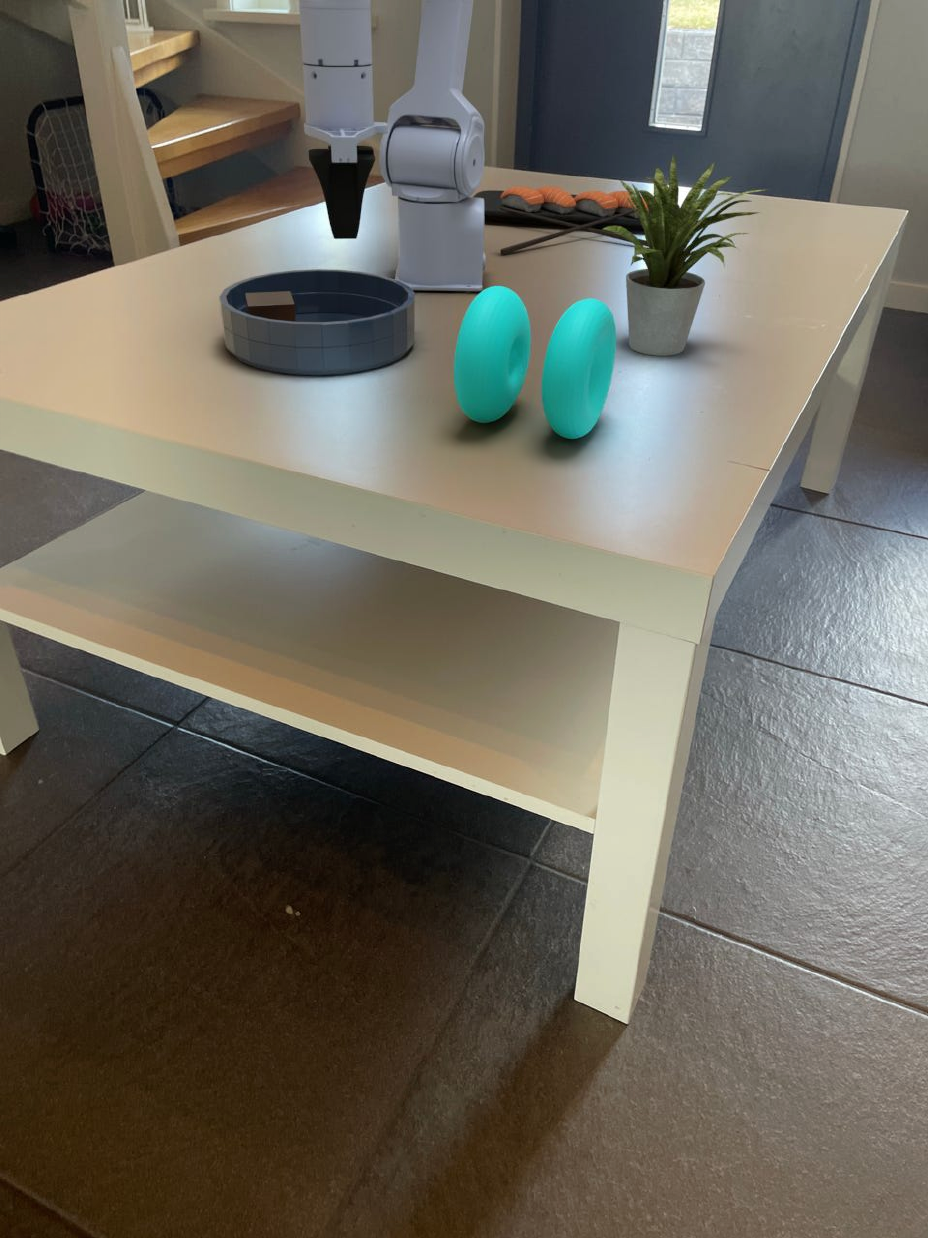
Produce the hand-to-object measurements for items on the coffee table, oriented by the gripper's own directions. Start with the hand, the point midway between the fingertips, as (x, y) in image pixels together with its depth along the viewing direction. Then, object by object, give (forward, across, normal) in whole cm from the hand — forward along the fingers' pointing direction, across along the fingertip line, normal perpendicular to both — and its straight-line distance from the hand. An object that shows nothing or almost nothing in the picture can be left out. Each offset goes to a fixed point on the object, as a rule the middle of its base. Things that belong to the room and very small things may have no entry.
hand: (345, 236), depth 88 cm
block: (+8, -4, +7) cm, 12 cm away
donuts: (+9, -24, -13) cm, 28 cm away
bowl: (+9, -3, +3) cm, 10 cm away
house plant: (+9, -7, -28) cm, 30 cm away
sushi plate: (+9, +41, -31) cm, 52 cm away
